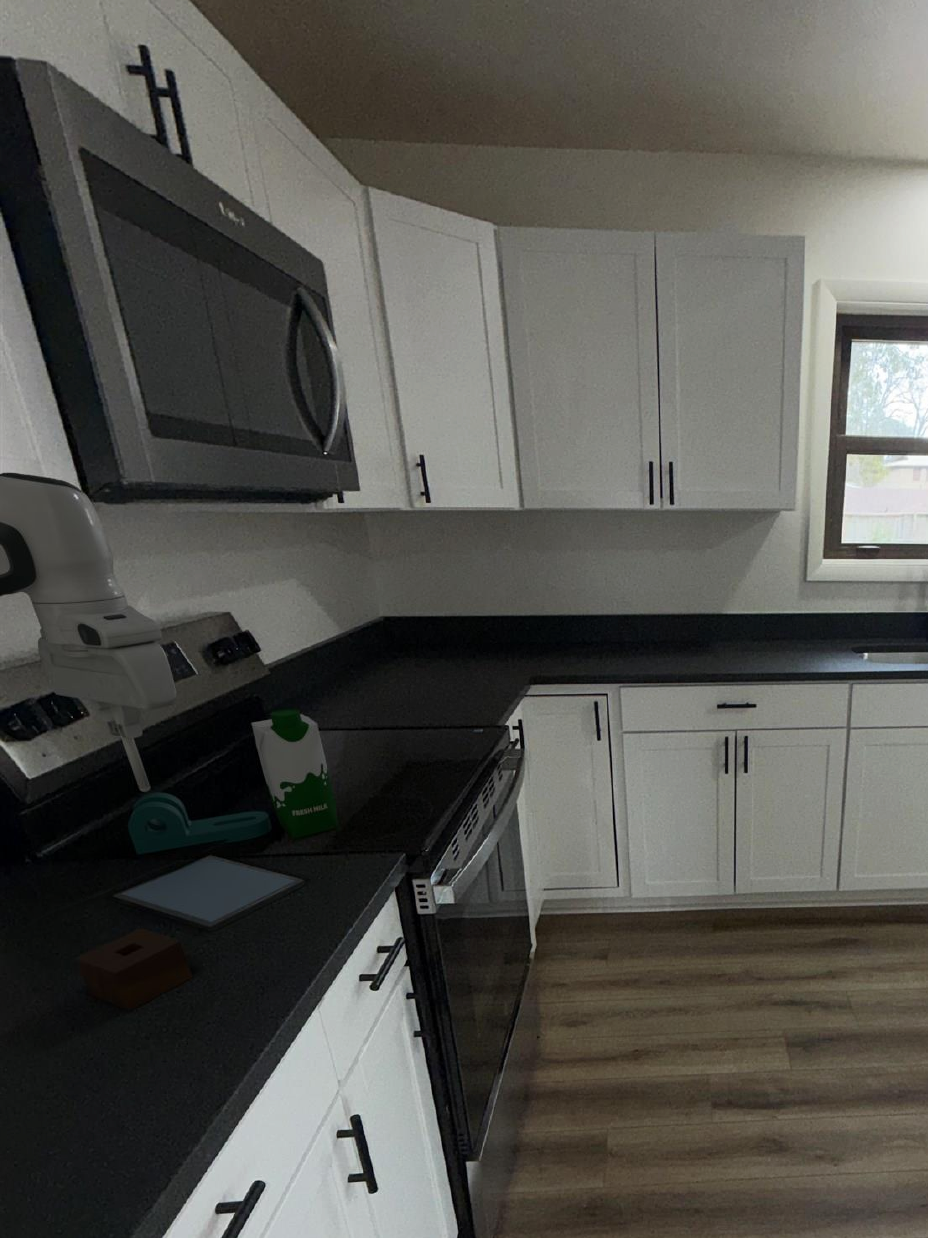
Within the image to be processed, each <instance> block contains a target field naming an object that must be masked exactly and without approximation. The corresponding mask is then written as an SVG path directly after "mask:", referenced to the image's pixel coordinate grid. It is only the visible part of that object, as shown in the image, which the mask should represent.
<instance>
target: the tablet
mask: <svg viewBox="0 0 928 1238" xmlns="http://www.w3.org/2000/svg"><path fill="white" fill-rule="evenodd" d="M305 886H306V882H305V879H302V878H298V877H295V876H290V875H287V874H283V873H279V872H275V871H271V870H268V869H264V868H261V867H257V866H254V865H253V866H252V865H250V864H246V863H242V862H238V861H234V860H230V859H227V858H222V857H219V856H216V855H211V854H209V855H207V856H205V857H203V858H200V859H198V860H196V861H193V862H190V863H188V864H186V865H184V866H181V867H179V868H176V869H173V870H171V871H168V872H167V873H164V874H161V875H159V876H157V877H154V878H152V879H150V880H147V881H145V882H142V883H140V884H138V885H135V886H133V887H131V888H128V889H126V890H123V891H120V892H119V893H115V894H114V895H112V898H113V901H114V902H116V903H119V904H121V905H125V906H127V907H132V908H135V909H137V910H141V911H144V912H148V913H150V914H153V915H156V916H160V917H163V918H166V919H168V920H172V921H176V922H178V923H181V924H183V925H188V926H191V927H194V928H196V929H200V930H204V931H207V932H209V933H214V932H216V931H217V930H220V929H222V928H224V927H225V926H227V925H230V924H232V923H234V922H235V921H237V920H240V919H242V918H243V917H246V916H248V915H249V914H251V913H253V912H255V911H258V910H260V909H261V908H264V907H265V906H268V905H269V904H271V903H273V902H276V901H277V900H279V899H281V898H283V897H285V896H287V895H289V894H291V893H293V892H295V891H297V890H299V889H301V888H303V887H305Z"/></svg>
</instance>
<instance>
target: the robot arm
mask: <svg viewBox="0 0 928 1238" xmlns="http://www.w3.org/2000/svg"><path fill="white" fill-rule="evenodd" d="M18 593H25V594H26V595H27V596H28V597H29V599H30V601H31V604H32V607H33V610H34V613H35V615H36V618H37V621H38V623H39V626H40V630H39V634H40V636H41V637H39V638H38V640H37V649H38V654H39V659H40V662H41V665H42V668H43V669H42V670H43V672H44V675H45V679H46V681H47V684H48V686H49V688H50V689H51V691H52V692H53V693H54V694H55V695H57V696H62V697H68V698H75V699H78V700H79V699H80V700H86V701H90V703H91V706H92V708H93V710H94V711H95V712H96V714H97V715H98V717H100V719H101V720H102V721H103V722H104V725H105V727H106V731H107V733H108V734H109V735H111V736H115V737H121V736H123V737H126V738H131V739H132V738H133V739H135V738H139V737H142V736H143V729H142V727H141V724H140V722H141V715H142V710H144V711H152V710H156V709H162V708H166V707H169V706H173V705H174V704H175V702H176V699H177V688H176V685H175V680H174V676H173V672H172V669H171V666H170V663H169V660H168V657H167V653H165V650H164V648H163V647H162V646H161V645H160V644H159V643H158V642H157V641H160V640H162V639H163V633H162V630H161V627H160V625H159V623H158V622H157V621H155V620H153V619H151V618H150V617H148V616H146V615H145V614H143V613H141V612H140V611H138V610H137V609H136V608H135V607H133V606H132V605H129V604H128V600H127V596H126V593H125V591H124V589H123V588H122V586H121V585H120V584H119V581H118V580H117V578H116V575H115V572H114V557H113V553H112V550H111V547H110V544H109V541H108V537H107V535H106V533H105V530H104V527H103V524H102V522H101V519H100V517H99V515H98V512H97V510H96V509H95V507H94V505H93V503H92V501H91V500H90V498H89V497H88V495H87V494H86V493H85V492H84V491H83V490H81V489H80V488H79V487H77V486H76V485H74V484H72V483H70V482H68V481H66V480H63V479H57V478H54V477H53V478H52V477H48V476H47V477H46V476H41V475H33V474H27V473H26V474H25V473H19V472H2V473H0V598H1V597H3V596H7V595H8V596H9V595H15V594H18ZM110 704H114V705H115V708H116V711H117V712H120V720H121V724H117V725H118V728H119V730H120V733H119V730H118V728H117V725H116V722H115V719H114V716H113V714H112V711H111V708H110ZM120 734H121V736H120Z"/></svg>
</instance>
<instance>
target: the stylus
mask: <svg viewBox="0 0 928 1238" xmlns="http://www.w3.org/2000/svg"><path fill="white" fill-rule="evenodd" d="M110 708H111V711H112V714H113V716H114V719H115V722H116V725H117V724H121V720H120V712H117V711H116V708H115V705H114V704H110ZM117 728H118V725H117ZM118 730H119V728H118ZM119 733H120V730H119ZM119 737H120V739H121V741H122V745H123V747H124V750H125V753H126V756H127V758H128V761H129V764H130V767H131V770H132V772H133V773H132V774H133V775H134V778H135V781H136V784H137V786H138V789H139V790H140V792H143V793H147V792H150V790H151V785H150V782H149V779H148V776H147V773H146V771H145V767H144V765H143V762H142V759H141V756H140V752H139V750H138V748H137V745H136V742H135V738H132V739H131V738H126V737H123V736H121V734H120V736H119Z"/></svg>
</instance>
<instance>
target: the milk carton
mask: <svg viewBox="0 0 928 1238" xmlns="http://www.w3.org/2000/svg"><path fill="white" fill-rule="evenodd" d="M251 728H252V732H253V736H254V741H255V748H256V749H257V752H258V758H259V762H260V765H261V769H262V772H263V777H264V781H265V783H266V787H267V791H268V794H269V797H270V801H271V804H272V807H273V810H274V812H275V815H276V818H277V819H278V822H279V824H280V827H281V828H282V829H283V830H284V831H285V832H286V833H287V834H288V835H289V836H290V837H291V838H292V839H293V840H296V839H300V838H304V837H308V836H312V835H315V834H316V835H317V834H319V833H323V832H327V831H331V830H335V829H339V827H340V826H339V821H338V813H337V805H336V800H335V795H334V790H333V787H332V781H331V777H330V774H329V770H328V765H327V761H326V756H325V751H324V747H323V743H322V740H321V739H322V738H321V736H320V731H319V726H318V723H317V722H316V721H314V720H313V719H312V718H310V717H309V716H305V715H304V714H302V713H301V712H300V710H299V709H297V708H295V709H294V708H288V709H287V708H286V709H279V710H275V711H272V712H271V713H270V719H266V720H260V721H254V722H251Z"/></svg>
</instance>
